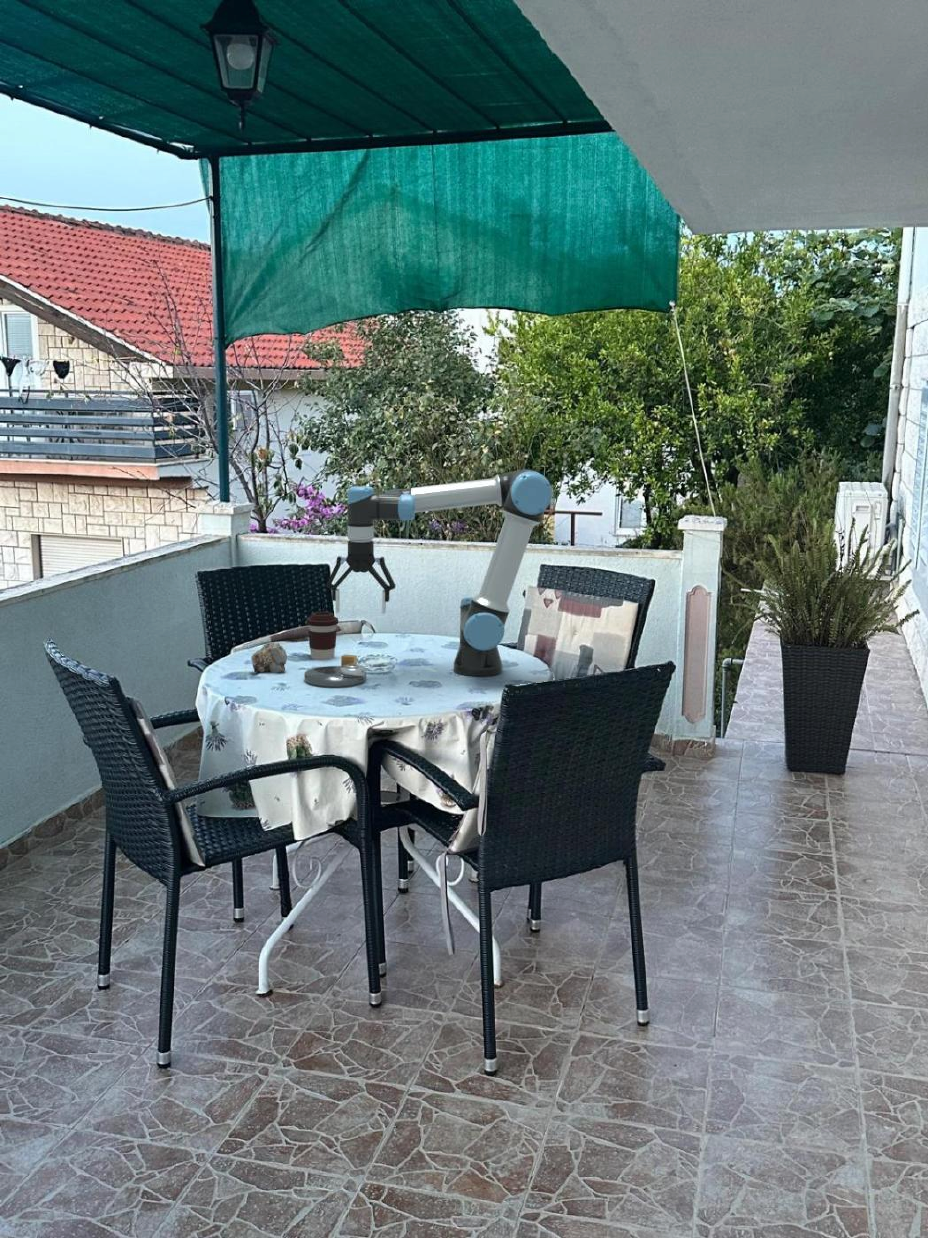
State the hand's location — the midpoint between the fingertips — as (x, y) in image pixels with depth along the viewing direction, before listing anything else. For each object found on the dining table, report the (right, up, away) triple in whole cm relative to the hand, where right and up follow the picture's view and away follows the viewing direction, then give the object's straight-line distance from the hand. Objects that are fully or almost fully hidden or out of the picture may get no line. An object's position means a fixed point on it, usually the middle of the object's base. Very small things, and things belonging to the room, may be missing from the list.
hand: (360, 612), depth 341 cm
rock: (-28, -18, +12) cm, 36 cm away
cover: (-2, -18, -1) cm, 19 cm away
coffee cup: (-15, -15, +29) cm, 36 cm away
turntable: (-7, -20, +2) cm, 21 cm away
